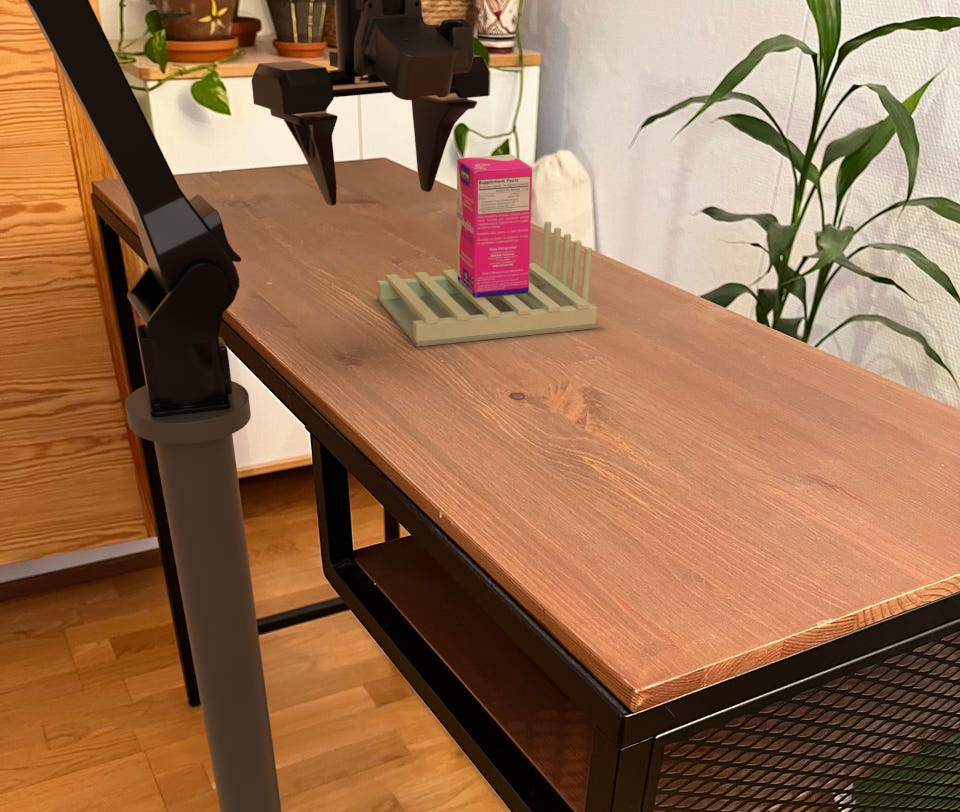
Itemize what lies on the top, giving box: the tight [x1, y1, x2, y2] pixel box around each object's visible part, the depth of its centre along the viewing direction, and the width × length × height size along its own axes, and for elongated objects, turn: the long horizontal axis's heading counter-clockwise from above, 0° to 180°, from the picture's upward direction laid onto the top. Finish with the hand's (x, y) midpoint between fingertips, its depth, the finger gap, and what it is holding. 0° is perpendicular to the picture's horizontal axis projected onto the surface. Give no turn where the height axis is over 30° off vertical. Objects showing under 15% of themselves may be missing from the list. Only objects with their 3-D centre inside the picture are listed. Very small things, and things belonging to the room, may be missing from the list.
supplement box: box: [456, 154, 533, 298], centre depth 98 cm, size 6×6×12 cm
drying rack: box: [377, 220, 598, 348], centre depth 100 cm, size 18×14×7 cm
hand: (379, 197), depth 86 cm, fingers open, 9 cm apart
